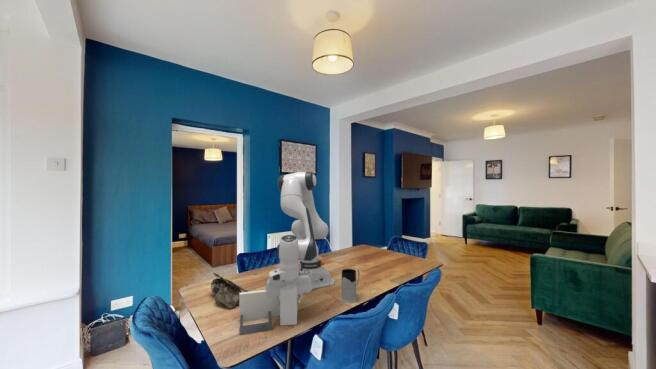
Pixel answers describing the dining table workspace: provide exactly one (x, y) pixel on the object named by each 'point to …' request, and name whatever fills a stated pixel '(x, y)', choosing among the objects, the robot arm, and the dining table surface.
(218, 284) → the hollow geode rock
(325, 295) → the dining table surface
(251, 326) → the cleat bracket
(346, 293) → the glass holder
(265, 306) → the wall board
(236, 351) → the dining table surface
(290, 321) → the milk carton
